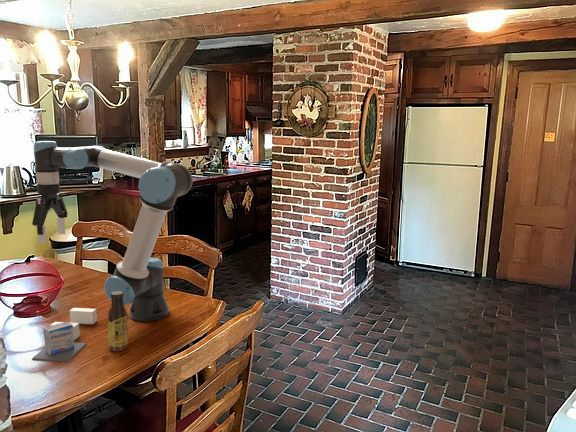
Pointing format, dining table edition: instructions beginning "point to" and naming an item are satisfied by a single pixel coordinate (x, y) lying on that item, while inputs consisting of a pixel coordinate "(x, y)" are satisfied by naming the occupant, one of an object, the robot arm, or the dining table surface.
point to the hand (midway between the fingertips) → (52, 238)
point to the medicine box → (58, 338)
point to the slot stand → (80, 319)
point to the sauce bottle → (117, 323)
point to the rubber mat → (60, 354)
